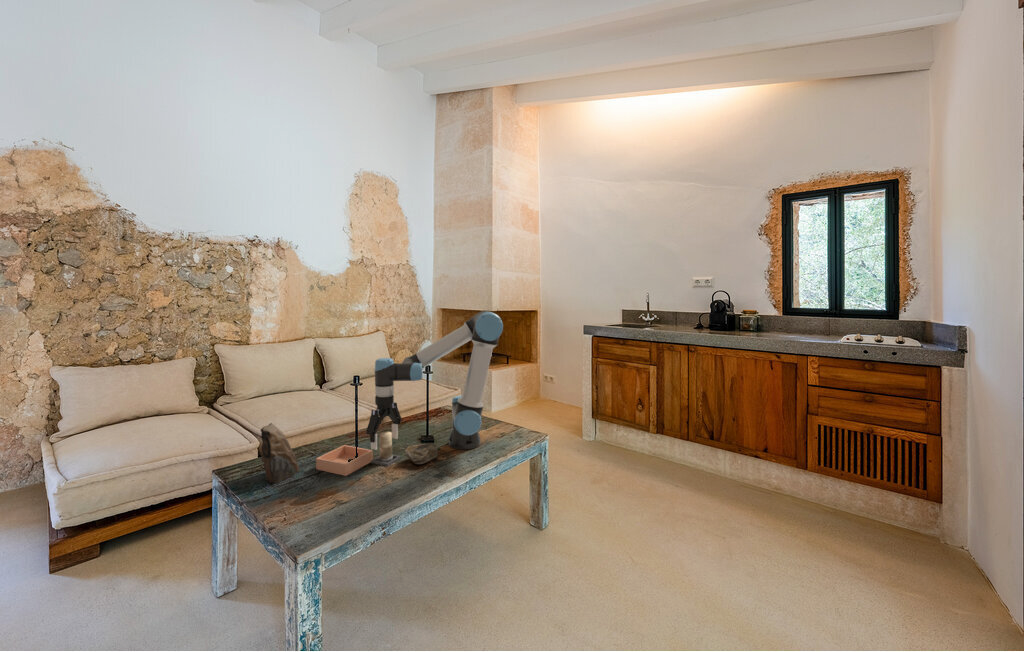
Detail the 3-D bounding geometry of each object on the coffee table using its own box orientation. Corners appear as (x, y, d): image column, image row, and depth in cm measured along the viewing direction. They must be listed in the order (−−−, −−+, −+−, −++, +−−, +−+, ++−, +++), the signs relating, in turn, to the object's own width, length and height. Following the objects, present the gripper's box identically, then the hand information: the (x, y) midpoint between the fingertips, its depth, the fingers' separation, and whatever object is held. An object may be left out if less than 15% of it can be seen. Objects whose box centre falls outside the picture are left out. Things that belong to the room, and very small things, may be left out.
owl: (273, 485, 157) (271, 434, 155) (249, 480, 161) (246, 429, 159) (301, 471, 169) (299, 423, 167) (277, 466, 173) (275, 419, 171)
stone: (410, 462, 170) (407, 439, 175) (404, 472, 177) (402, 449, 182) (442, 459, 176) (438, 437, 182) (435, 468, 183) (431, 446, 189)
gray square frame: (400, 458, 182) (400, 456, 182) (387, 466, 174) (387, 463, 174) (384, 455, 185) (384, 453, 185) (371, 462, 177) (371, 460, 177)
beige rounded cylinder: (395, 459, 181) (395, 432, 180) (387, 464, 176) (386, 436, 175) (385, 457, 183) (384, 430, 182) (376, 462, 178) (375, 434, 177)
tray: (372, 460, 179) (372, 450, 179) (346, 475, 165) (345, 464, 165) (344, 454, 185) (344, 444, 185) (316, 469, 171) (315, 458, 170)
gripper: (395, 387, 190) (395, 432, 192) (356, 401, 167) (357, 452, 169) (409, 389, 187) (409, 435, 189) (371, 403, 164) (372, 455, 166)
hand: (384, 443), depth 179 cm, fingers open, 13 cm apart
